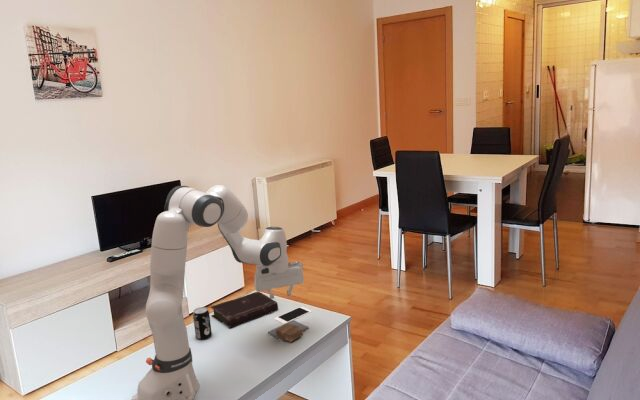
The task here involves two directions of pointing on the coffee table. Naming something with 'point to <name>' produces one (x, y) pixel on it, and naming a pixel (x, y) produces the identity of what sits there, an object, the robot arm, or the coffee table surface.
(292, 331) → the wooden block
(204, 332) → the beverage can
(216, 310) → the diary
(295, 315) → the cell phone
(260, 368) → the coffee table surface
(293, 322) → the mat
